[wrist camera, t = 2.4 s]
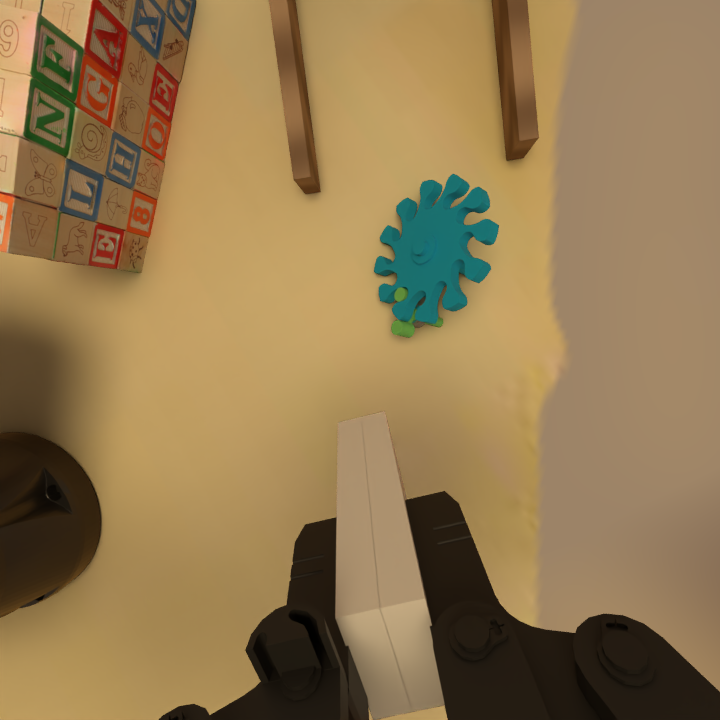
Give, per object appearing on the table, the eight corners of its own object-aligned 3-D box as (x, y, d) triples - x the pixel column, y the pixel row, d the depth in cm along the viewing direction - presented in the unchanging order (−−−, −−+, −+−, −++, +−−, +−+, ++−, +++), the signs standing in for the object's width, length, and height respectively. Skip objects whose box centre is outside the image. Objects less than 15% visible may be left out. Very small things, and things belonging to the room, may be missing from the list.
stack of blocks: (124, -17, 32) (-46, -217, 20) (199, 1, 32) (72, -193, 20) (75, 256, 35) (-100, 224, 23) (143, 275, 35) (2, 254, 22)
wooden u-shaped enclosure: (523, 157, 30) (552, 119, 25) (305, 194, 32) (283, 166, 26) (502, -83, 29) (527, -186, 23) (275, -30, 31) (244, -112, 25)
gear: (403, 162, 30) (515, 182, 23) (453, 193, 34) (563, 219, 26) (346, 304, 33) (429, 361, 26) (399, 318, 37) (484, 371, 30)
